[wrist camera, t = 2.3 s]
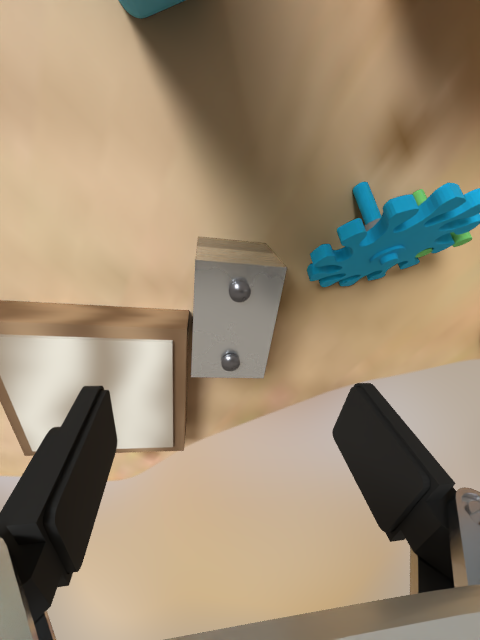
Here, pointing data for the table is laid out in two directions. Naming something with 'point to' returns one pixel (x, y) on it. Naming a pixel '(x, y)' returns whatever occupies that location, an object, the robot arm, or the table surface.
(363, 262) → the gear
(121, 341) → the stand
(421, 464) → the robot arm
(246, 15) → the table surface
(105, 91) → the table surface
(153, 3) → the block
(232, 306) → the block
